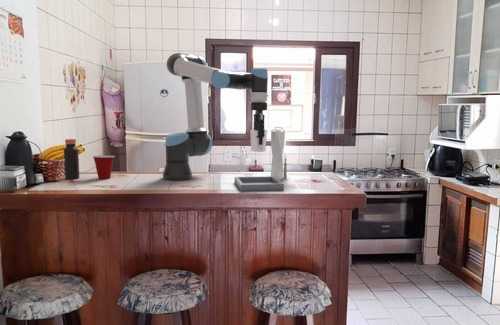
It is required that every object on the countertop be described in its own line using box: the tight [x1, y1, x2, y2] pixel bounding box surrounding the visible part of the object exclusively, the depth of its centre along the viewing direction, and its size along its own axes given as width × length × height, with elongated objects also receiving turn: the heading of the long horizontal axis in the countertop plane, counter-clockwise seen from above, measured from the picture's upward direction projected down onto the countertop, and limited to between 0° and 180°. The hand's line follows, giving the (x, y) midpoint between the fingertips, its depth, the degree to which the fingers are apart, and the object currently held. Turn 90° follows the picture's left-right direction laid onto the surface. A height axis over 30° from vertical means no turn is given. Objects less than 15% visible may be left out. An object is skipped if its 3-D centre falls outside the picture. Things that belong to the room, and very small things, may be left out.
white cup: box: [249, 129, 268, 153], centre depth 193 cm, size 8×8×10 cm
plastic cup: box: [92, 154, 116, 180], centre depth 211 cm, size 11×11×12 cm
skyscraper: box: [270, 126, 288, 182], centre depth 215 cm, size 8×8×28 cm
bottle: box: [63, 138, 80, 180], centre depth 209 cm, size 7×7×20 cm
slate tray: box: [234, 175, 285, 192], centre depth 196 cm, size 20×20×3 cm
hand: (258, 150), depth 194 cm, fingers closed on white cup, 7 cm apart
